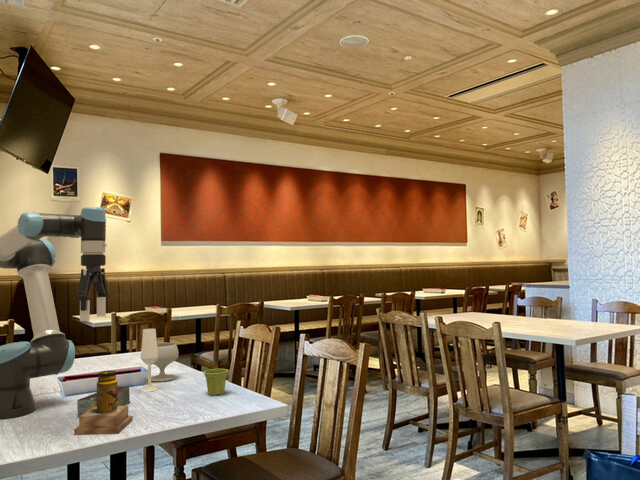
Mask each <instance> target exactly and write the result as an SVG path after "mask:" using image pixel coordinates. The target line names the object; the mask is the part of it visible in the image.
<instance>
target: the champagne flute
mask: <svg viewBox="0 0 640 480" xmlns="http://www.w3.org/2000/svg"><path fill="white" fill-rule="evenodd" d="M141 337H142V340H141V348H140V360H141V361H142V362H143V363H144V364H145V365H146V366H147V385H146V386H144V387H143V388H142V389H140V391H141V392H146V393H149V392H155V391H158V390H159V388H158V387H156V386H154V385H152V381H151V377H152V365H154V364H153V363H154V362H155V361H156V360H157V358H158V349H157V343H158V341H157V330H156V328H143V329H142V336H141Z"/></svg>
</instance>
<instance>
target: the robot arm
mask: <svg viewBox="0 0 640 480" xmlns="http://www.w3.org/2000/svg"><path fill="white" fill-rule="evenodd" d="M106 225H107V218H106V210H105V208H103V207H98V206H84V207H82V208H81V209H80V214H79V215H78V214H77V215H76V214H63V213H62V214H59V213H45V212H43V213H41V212H33V211H32V212H23V213H21V214H20V215H19V218H18V220H17V225H15V226H14V227H12V228H11V229H9V230H7V231H6V232H5V233H3V234H0V269H6V270H7V269H8V270H9V269H14V270H16V271H17V275H18V276H19V277H21V278H22V280H23V284H24V290H25V294H26V295H25V296H26V299H27V306H28V311H29V317H30V321H31V328H32V332H33V338H32V339H31V340H30V342H29V341H18V342H11V343H6V344H3V345H0V419H1V420H2V419H10V418H11V419H12V418H16V417H21V416H25V415H28V414H31V413H33V412H34V411H36V401H35V398H34V395H33V393H32V390H31V379H35V378H40V377H41V378H42V377H47V376H53V375H59V374H63V373H67V372H68V371H70V370H71V369H72V367H73V365H74V362H75V359H76V358H75V357H76V349H75V344H74V343H73V341H72V340H71V339H70V340H69V339H67V337H66V334H65V333H63V332H61V331H60V326H59V322H58V317H57V310H56V306H55V302H54V301H55V300H54V295H53V292H52V286H51V282H50V281H51V280H50V276H49V273H50V272H52V267H54V265H55V263H56V252H55V248H54V245H53V244H52V242H50V241H49V240H48V239H46V238H45V237H48V238H49V237H53V238H55V237H57V238H71V239H75V238H76V239H79V238H80V253H81V256H80V266H82V267H85V268H81V270H80V277H79V284H78V288H77V292H76V301H79V322H90V317H91V316H90V313H91V312H90V309H91V308H90V307H91V306H90V300H89V298H90V295H91V291H92V288H93V286H94V287H95V288H94V289H95V291H96V294H97V297H96V317H100V318H101V317H106V313H107V312H106V309H107V307H106V304H107V303H106V302H107V301H106V300H107V299H106V298H108V297H109V289H108V288H109V287H108V284H107V279H106V278H107V277H106V269H105V268H103V266H106V263H107V262H106V260H107V258H106V255H105V254H104V253H106V247H107V246H108V244H107V243H106V239H107V238H106V235H107V233H106V232H107V229H106V227H107V226H106ZM101 267H102V268H101Z"/></svg>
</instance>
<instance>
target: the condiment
mask: <svg viewBox="0 0 640 480" xmlns="http://www.w3.org/2000/svg"><path fill="white" fill-rule="evenodd" d="M118 384H119V382H118V379H117V372H116V371H115V370H102V371H100V372H98V373H97V381H96V393H97V409H89V410H88V412H89V413H90V415H91V416H94V415H100V414H108V413H115V412H120V410H119V409H118V408H117V406H118V405H117V403H118V391H117V387H118Z"/></svg>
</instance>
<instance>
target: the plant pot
mask: <svg viewBox="0 0 640 480" xmlns="http://www.w3.org/2000/svg"><path fill="white" fill-rule="evenodd" d="M228 372H229V370H228V369H226V368H213V369H207V370H204V371H203V375H204V377H205V381H206V388H207V394H208V395H210V396H218V395H223V394H225V390H226V381H227V376H228Z"/></svg>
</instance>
